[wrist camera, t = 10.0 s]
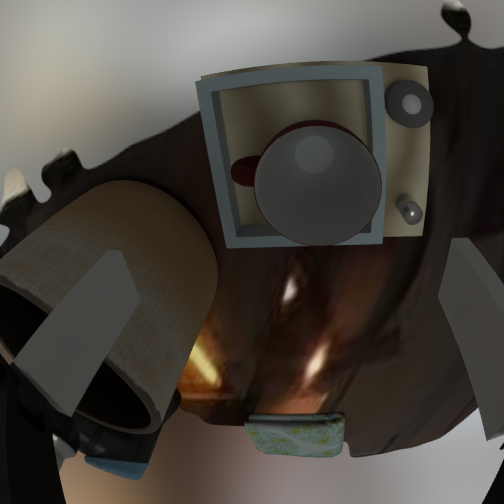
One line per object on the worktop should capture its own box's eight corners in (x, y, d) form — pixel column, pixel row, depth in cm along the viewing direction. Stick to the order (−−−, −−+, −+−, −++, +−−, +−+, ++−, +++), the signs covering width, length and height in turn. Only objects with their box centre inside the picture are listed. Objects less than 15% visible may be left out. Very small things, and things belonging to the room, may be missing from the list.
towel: (244, 410, 56) (239, 430, 51) (345, 409, 50) (345, 431, 46) (260, 440, 65) (257, 456, 60) (342, 440, 59) (342, 457, 55)
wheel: (384, 124, 23) (389, 127, 21) (381, 78, 20) (386, 78, 19) (427, 127, 22) (434, 130, 20) (425, 82, 19) (432, 82, 18)
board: (233, 236, 33) (230, 241, 32) (204, 76, 24) (200, 76, 23) (418, 230, 28) (421, 235, 27) (422, 67, 20) (426, 66, 19)
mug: (255, 202, 29) (232, 256, 21) (236, 124, 25) (200, 145, 17) (361, 189, 26) (384, 240, 18) (350, 106, 22) (375, 117, 14)
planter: (203, 335, 43) (159, 452, 27) (83, 283, 43) (14, 371, 26) (243, 209, 31) (171, 364, 14) (79, 156, 31) (-48, 234, 14)
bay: (232, 236, 32) (226, 248, 30) (204, 81, 23) (195, 81, 21) (377, 231, 28) (382, 243, 26) (374, 68, 20) (381, 66, 18)
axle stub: (394, 212, 27) (402, 225, 24) (396, 193, 26) (404, 205, 23) (412, 211, 26) (421, 225, 24) (414, 193, 25) (424, 205, 23)
